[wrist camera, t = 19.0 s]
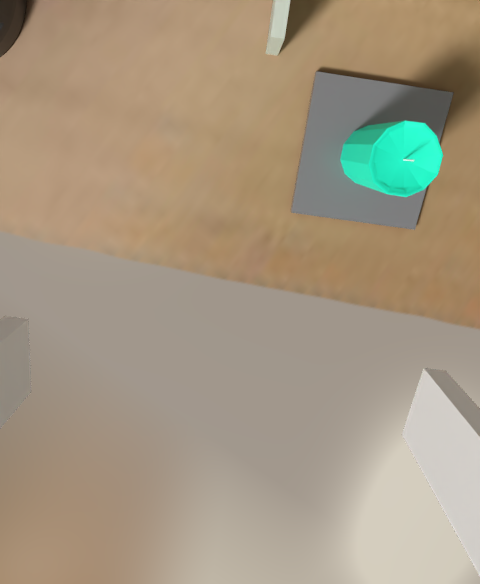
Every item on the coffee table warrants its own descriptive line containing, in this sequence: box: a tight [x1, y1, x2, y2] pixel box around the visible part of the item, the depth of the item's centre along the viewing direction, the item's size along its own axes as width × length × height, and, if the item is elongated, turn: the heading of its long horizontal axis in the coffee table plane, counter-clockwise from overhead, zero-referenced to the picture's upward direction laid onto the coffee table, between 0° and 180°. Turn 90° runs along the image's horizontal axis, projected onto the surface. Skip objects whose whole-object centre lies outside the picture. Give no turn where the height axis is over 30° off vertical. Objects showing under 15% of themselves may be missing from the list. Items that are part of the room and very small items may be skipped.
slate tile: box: [291, 71, 453, 230], centre depth 44 cm, size 14×14×1 cm
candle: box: [340, 121, 443, 197], centre depth 38 cm, size 6×6×12 cm
